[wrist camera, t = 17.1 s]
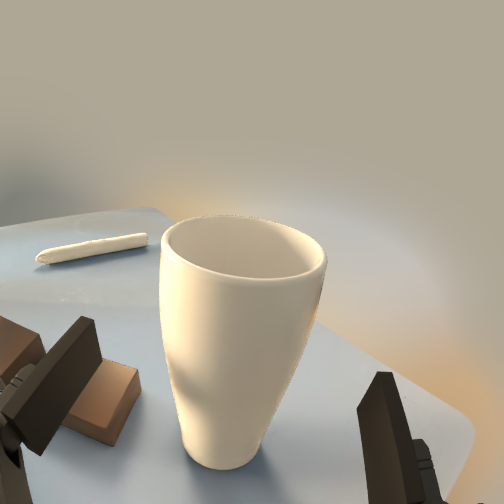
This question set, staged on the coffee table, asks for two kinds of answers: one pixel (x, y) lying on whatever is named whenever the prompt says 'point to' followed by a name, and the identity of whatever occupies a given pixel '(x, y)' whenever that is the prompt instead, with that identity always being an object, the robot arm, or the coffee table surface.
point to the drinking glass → (234, 327)
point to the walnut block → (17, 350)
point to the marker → (92, 248)
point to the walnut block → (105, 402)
